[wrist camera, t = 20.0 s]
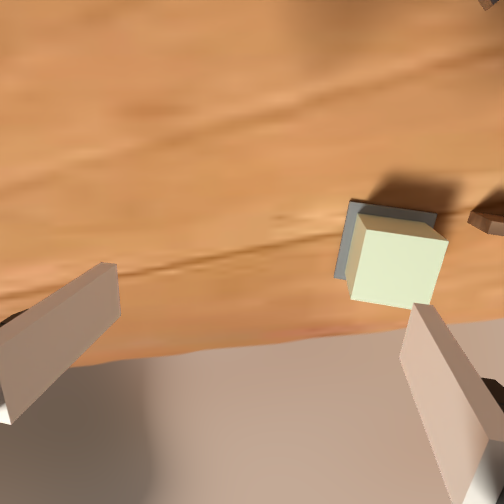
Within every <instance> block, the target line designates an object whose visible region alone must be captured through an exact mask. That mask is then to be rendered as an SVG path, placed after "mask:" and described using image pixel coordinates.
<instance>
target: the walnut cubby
mask: <svg viewBox="0 0 504 504" xmlns="http://www.w3.org/2000/svg"><path fill="white" fill-rule="evenodd" d="M467 223H469V224H471V225H473V226H475V227H476V228H478V229H480V230H482V231H483V232H485V233H487V234H493V235H499V236H504V216H501V215H494V214H487V213H480V212H473V211H471V213H470V216H469V219H468V222H467Z"/></svg>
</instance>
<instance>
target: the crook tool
mask: <svg viewBox="0 0 504 504" xmlns="http://www.w3.org/2000/svg"><path fill="white" fill-rule="evenodd" d="M478 1H479V3H480V4H481V6H482V7H483V9H484V10H485V11H486V10H487V9H488V8H490V7H491V6H493V5H494V4H495V3H496V2H497V1H499V0H478Z"/></svg>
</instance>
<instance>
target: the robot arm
mask: <svg viewBox="0 0 504 504" xmlns="http://www.w3.org/2000/svg"><path fill="white" fill-rule="evenodd" d="M120 316H121V309H120V298H119V286H118V275H117V264H112V263H104V262H101V263H99V264H98V265H96V266H95V267H93V268H91V269H90V270H88V271H87V272H85V273H84V274H82V275H81V276H79V277H78V278H76V279H74V280H73V281H71V282H70V283H68V284H67V285H65V286H64V287H62V288H61V289H59V290H57V291H56V292H54V293H53V294H51V295H50V296H48V297H47V298H45V299H44V300H42V301H40V302H39V303H37V304H36V305H34V306H33V307H31V308H30V309H26V310H24V311H21V312H18V313H16V314H13V315H11V316H10V317H8V318H7V319H5V320H4V321H2V322H0V422H1V423H6V424H10V425H11V424H12V423H13V422H14V421H15V420H16V419H17V418H18V417H19V416H20V415H21V414H22V413H23V412H24V411H25V410H26V409H27V408H28V407H29V406H30V405H31V404H32V403H33V402H34V401H35V400H36V399H37V398H38V397H39V396H40V395H41V394H42V393H43V392H44V391H45V390H46V389H48V388H49V387H50V385H52V384H53V382H54V381H55V380H57V379H58V378H59V376H61V375H62V374H63V372H65V371H66V370H67V369H68V368H69V367H70V366H71V365H72V364H73V363H74V362H75V361H76V360H77V359H78V358H79V357H80V356H81V355H82V354H83V353H84V352H85V351H86V350H87V349H88V348H89V347H90V346H91V345H92V344H93V343H94V342H95V341H96V340H97V339H98V338H99V337H100V336H101V335H102V334H103V333H104V332H105V331H106V330H107V329H108V328H109V327H110V326H111V325H112V324H113V323H114V322H115V321H116V320H117V319H118V318H119V317H120ZM399 359H400V362H401V364H402V367H403V370H404V373H405V375H406V378H407V381H408V383H409V387H410V389H411V392H412V395H413V398H414V400H415V403H416V406H417V409H418V411H419V414H420V417H421V419H422V422H423V425H424V428H425V430H426V433H427V436H428V439H429V442H430V444H431V447H432V450H433V453H434V455H435V458H436V461H437V463H438V466H439V469H440V472H441V475H442V477H443V480H444V483H445V486H446V488H447V491H448V494H449V497H450V499H451V502H452V504H504V387H503V386H502V385H501V384H499V383H498V382H497V381H496V380H493V379H487V378H481V377H480V376H479V375H478V373H477V372H476V370H475V369H474V367H473V366H472V364H471V363H470V361H469V359H468V358H467V356H466V355H465V353H464V352H463V350H462V349H461V347H460V346H459V344H458V343H457V341H456V340H455V338H454V337H453V335H452V333H451V332H450V331H449V329H448V328H447V326H446V324H445V323H444V321H443V320H442V318H441V317H440V315H439V314H438V312H437V311H436V309H435V307H434V306H433V305H428V304H420V303H413V306H412V310H411V314H410V318H409V321H408V325H407V329H406V333H405V337H404V341H403V344H402V348H401V352H400V356H399Z"/></svg>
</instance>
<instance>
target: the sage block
mask: <svg viewBox="0 0 504 504" xmlns="http://www.w3.org/2000/svg"><path fill="white" fill-rule="evenodd" d="M448 243H449V241H448V240H447V239H445V238H444V237H443V236H442V235H440V234H439V233H438V232H436V231H435V230H434V229H433V228H431V227H430V226H429V225H427V224H426V223H425V222H418V221H411V220H404V219H396V218H389V217H382V216H375V215H368V214H360V213H357V217H356V222H355V226H354V231H353V236H352V240H351V245H350V250H349V255H348V259H347V264H346V269H345V276H346V280H347V285H348V289H349V294H350V298H351V299H352V300H358V301H364V302H370V303H376V304H382V305H388V306H393V307H399V308H405V309H411V310H412V306H413V303H420V304H428V305H429V303H430V300H431V297H432V294H433V291H434V287H435V284H436V281H437V278H438V275H439V271H440V268H441V265H442V262H443V259H444V255H445V252H446V249H447V246H448Z"/></svg>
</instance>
